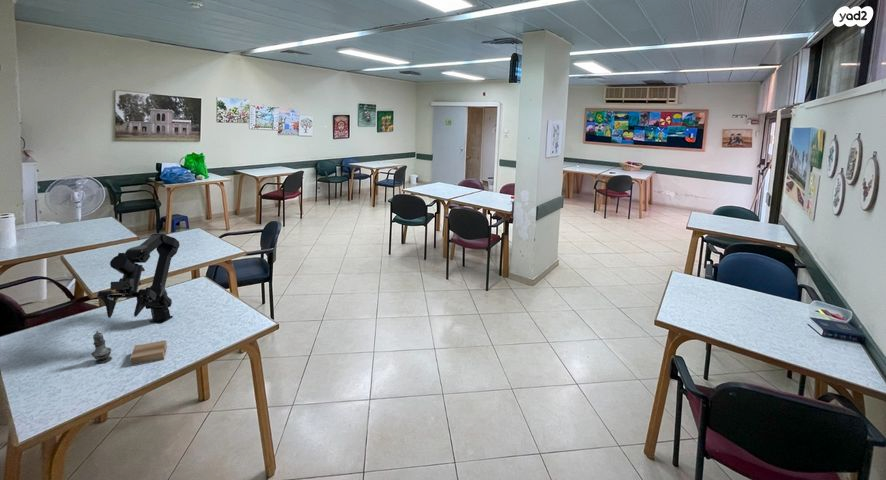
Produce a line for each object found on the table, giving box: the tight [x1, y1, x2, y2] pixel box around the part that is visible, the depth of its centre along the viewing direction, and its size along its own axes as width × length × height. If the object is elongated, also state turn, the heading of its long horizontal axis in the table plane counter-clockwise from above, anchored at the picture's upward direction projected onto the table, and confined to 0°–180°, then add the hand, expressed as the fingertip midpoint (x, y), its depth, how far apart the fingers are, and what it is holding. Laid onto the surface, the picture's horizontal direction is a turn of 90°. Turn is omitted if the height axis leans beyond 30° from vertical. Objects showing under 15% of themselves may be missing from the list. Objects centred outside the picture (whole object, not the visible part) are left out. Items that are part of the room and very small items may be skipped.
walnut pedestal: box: [129, 339, 168, 366], centre depth 166 cm, size 10×10×3 cm
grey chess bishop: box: [91, 330, 113, 365], centre depth 162 cm, size 6×6×12 cm
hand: (122, 316), depth 168 cm, fingers open, 9 cm apart
